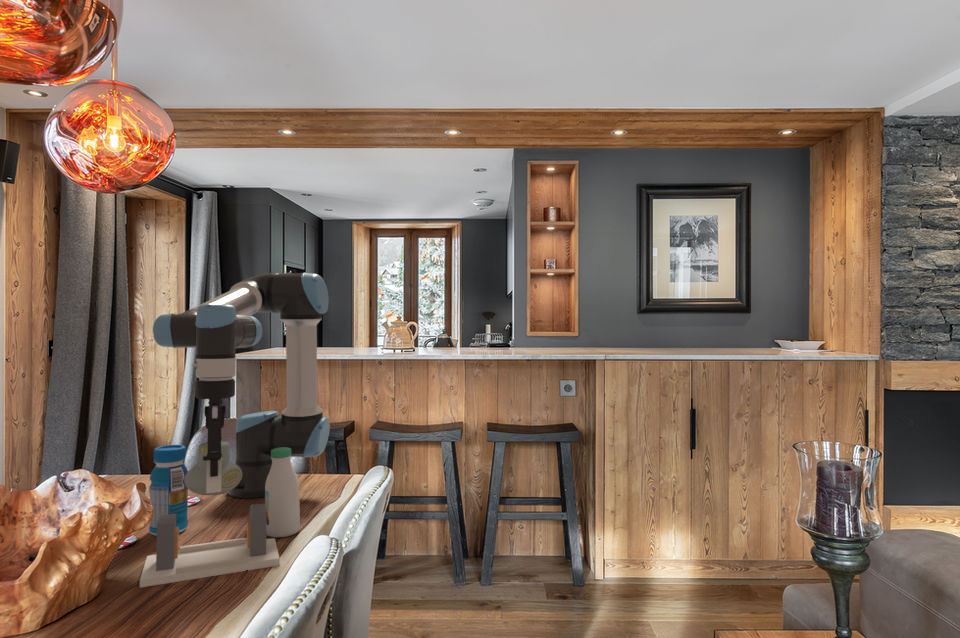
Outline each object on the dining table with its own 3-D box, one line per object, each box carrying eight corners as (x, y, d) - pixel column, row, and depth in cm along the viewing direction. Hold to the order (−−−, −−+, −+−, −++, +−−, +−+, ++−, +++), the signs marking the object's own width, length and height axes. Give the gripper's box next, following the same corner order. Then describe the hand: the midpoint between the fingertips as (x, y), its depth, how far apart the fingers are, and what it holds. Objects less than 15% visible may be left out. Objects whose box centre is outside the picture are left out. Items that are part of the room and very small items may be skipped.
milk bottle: (306, 527, 139) (304, 445, 138) (287, 540, 131) (285, 454, 131) (278, 524, 141) (276, 444, 140) (259, 536, 133) (256, 452, 133)
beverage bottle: (143, 538, 132) (144, 452, 132) (154, 526, 140) (155, 444, 140) (183, 535, 134) (185, 450, 134) (191, 523, 142) (192, 442, 142)
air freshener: (215, 483, 124) (215, 437, 125) (247, 486, 122) (248, 439, 122) (177, 497, 114) (177, 447, 114) (212, 501, 112) (212, 450, 112)
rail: (147, 563, 118) (148, 512, 118) (274, 544, 129) (275, 498, 129) (139, 587, 107) (140, 531, 108) (279, 565, 118) (280, 514, 118)
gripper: (197, 374, 127) (196, 472, 127) (192, 384, 106) (191, 502, 106) (234, 373, 131) (232, 469, 130) (236, 383, 109) (234, 498, 109)
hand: (214, 484), depth 118 cm, fingers closed on air freshener, 11 cm apart
